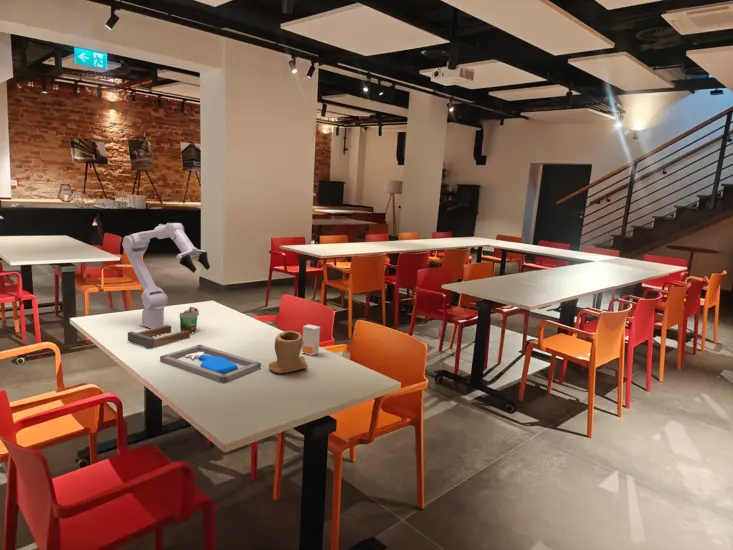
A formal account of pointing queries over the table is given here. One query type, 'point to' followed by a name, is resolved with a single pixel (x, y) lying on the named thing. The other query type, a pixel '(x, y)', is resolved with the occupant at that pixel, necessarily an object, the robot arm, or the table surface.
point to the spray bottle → (214, 363)
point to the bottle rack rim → (173, 361)
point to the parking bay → (165, 339)
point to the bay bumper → (141, 339)
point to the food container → (189, 320)
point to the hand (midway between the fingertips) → (201, 269)
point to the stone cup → (288, 353)
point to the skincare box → (311, 339)
